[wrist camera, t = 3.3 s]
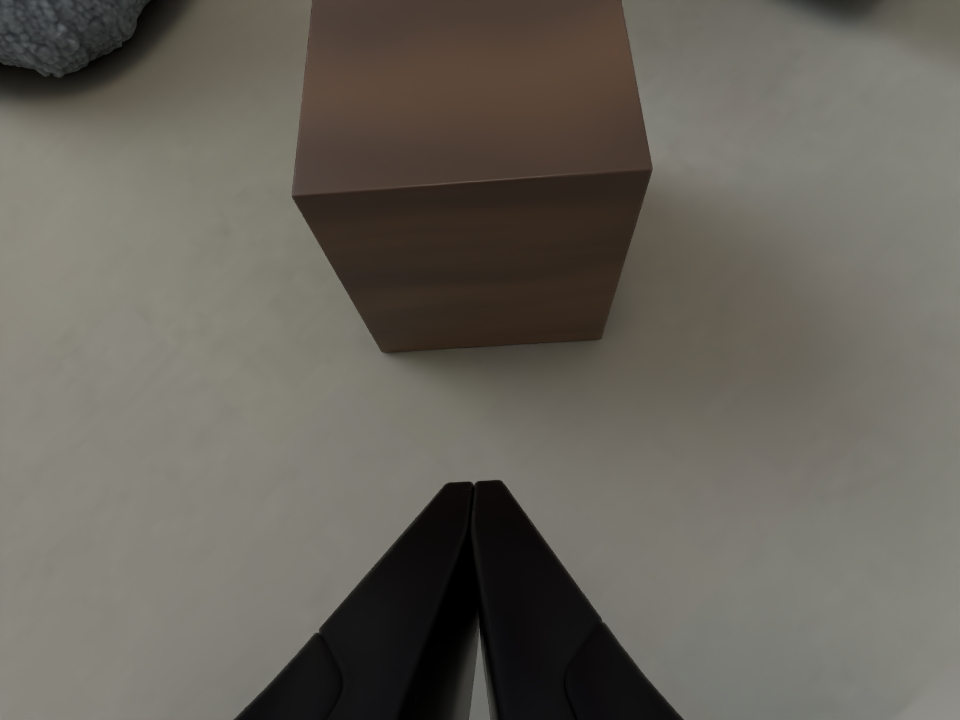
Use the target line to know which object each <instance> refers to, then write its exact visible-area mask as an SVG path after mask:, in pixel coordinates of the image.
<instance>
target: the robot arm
mask: <svg viewBox="0 0 960 720" xmlns="http://www.w3.org/2000/svg"><path fill="white" fill-rule="evenodd" d="M479 629H480V639H481V649H482V657H483V665H484V672H485V680H486V688H487V696H488V703H489V711H490V719H491V720H684V719H683V718H682V717H681V716H680V715H679V714H678V713H677V712H676V711H675V710H674V708H673V707H672V706H671V705H670V704H669V703H668V702H667V700H666V699H665V698H664V697H663V696H662V695H661V694H660V693H659V691H658V690H657V689H656V688H655V687H654V686H653V685H652V684H651V682H650V681H649V680H648V679H647V678H646V677H645V675H644V674H643V673H642V672H641V670H640V669H639V668H638V666H637V665H636V664H635V663H634V661H633V660H632V659H631V657H630V656H629V655H628V654H627V652H626V651H625V650H624V648H623V647H622V646H621V645H620V643H619V642H618V640H617V639H616V638H615V636H614V635H613V633H612V632H611V631H610V629H609V628H608V626H607V625H606V624H605V623H603V622H602V619H601V617H600V616H599V614H598V613H597V612H596V610H595V609H594V608H593V606H592V605H591V603H590V602H589V601H588V599H587V598H586V596H585V595H584V594H583V592H582V591H581V590H580V588H579V587H578V585H577V584H576V583H575V581H574V580H573V578H572V577H571V576H570V574H569V573H568V572H567V570H566V569H565V567H564V566H563V565H562V563H561V562H560V560H559V559H558V558H557V556H556V555H555V554H554V552H553V551H552V549H551V548H550V547H549V545H548V544H547V542H546V541H545V540H544V538H543V537H542V536H541V534H540V533H539V531H538V530H537V529H536V527H535V526H534V524H533V523H532V522H531V520H530V519H529V518H528V516H527V515H526V513H525V512H524V511H523V509H522V508H521V506H520V505H519V504H518V502H517V501H516V500H515V498H514V497H513V495H512V494H511V493H510V491H509V490H508V488H507V487H506V486H505V484H504V483H503V482H502V481H500V480H490V481H478V482H476V483H475V485H474V484H473V483H472V482H450V483H447V484H445V485H444V486H443V488H442V489H441V490H440V491H439V492H438V493H437V494H436V496H435V497H434V498H433V499H432V500H431V501H430V502H429V504H428V505H427V506H426V507H425V508H424V509H423V510H422V512H421V513H420V514H419V515H418V516H417V517H416V518H415V520H414V521H413V522H412V523H411V524H410V525H409V526H408V528H407V529H406V530H405V531H404V532H403V533H402V535H401V536H400V537H399V538H398V539H397V540H396V541H395V543H394V544H393V545H392V546H391V547H390V548H389V549H388V551H387V552H386V553H385V554H384V555H383V556H382V557H381V559H380V560H379V561H378V562H377V563H376V564H375V565H374V567H373V568H372V569H371V570H370V571H369V572H368V574H367V575H366V576H365V577H364V578H363V579H362V580H361V582H360V583H359V584H358V585H357V586H356V587H355V588H354V590H353V591H352V592H351V593H350V594H349V595H348V596H347V598H346V599H345V600H344V601H343V602H342V603H341V604H340V606H339V607H338V608H337V609H336V610H335V611H334V612H333V614H332V615H331V616H330V617H329V618H328V619H327V621H326V622H325V623H324V624H323V625H322V626H321V627H320V629H319V633H315V634H314V635H313V636H312V637H311V639H310V640H309V641H308V642H307V643H306V644H305V645H304V647H303V648H302V649H301V650H300V651H299V652H298V653H297V655H296V656H295V657H294V658H293V659H292V660H291V661H290V662H289V663H288V664H287V665H286V666H285V668H284V669H283V670H282V671H281V672H280V673H279V674H278V675H277V676H276V677H275V678H274V680H273V681H272V682H271V683H270V684H269V685H268V686H267V687H266V688H265V689H264V690H263V691H262V692H261V693H260V694H259V695H258V696H257V697H256V698H255V699H254V700H253V701H252V702H251V703H250V704H249V705H248V706H247V707H246V708H245V709H244V710H243V711H242V712H241V713H240V714H239V715H238V716H237V717H236V718H235V719H234V720H469V714H470V706H471V698H472V690H473V681H474V673H475V665H476V657H477V647H478V637H479Z"/></svg>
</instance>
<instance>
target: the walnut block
mask: <svg viewBox="0 0 960 720" xmlns="http://www.w3.org/2000/svg"><path fill="white" fill-rule="evenodd" d="M652 170H653V168H652V163H651V157H650V152H649V147H648V141H647V136H646V130H645V125H644V120H643V114H642V109H641V104H640V98H639V93H638V88H637V82H636V77H635V71H634V66H633V61H632V55H631V50H630V45H629V39H628V34H627V29H626V23H625V18H624V13H623V7H622V2H621V0H312V10H311V19H310V29H309V38H308V47H307V57H306V66H305V76H304V85H303V95H302V104H301V113H300V123H299V132H298V142H297V151H296V161H295V170H294V179H293V189H292V198H293V200H294V201H295V203H296V205H297V206H298V208H299V210H300V212H301V213H302V215H303V217H304V219H305V220H306V222H307V224H308V225H309V227H310V229H311V231H312V232H313V234H314V236H315V238H316V239H317V241H318V243H319V245H320V246H321V248H322V250H323V251H324V253H325V255H326V257H327V258H328V260H329V262H330V264H331V265H332V267H333V269H334V270H335V272H336V274H337V276H338V277H339V279H340V281H341V283H342V284H343V286H344V288H345V290H346V291H347V293H348V295H349V296H350V298H351V300H352V302H353V303H354V305H355V307H356V309H357V310H358V312H359V314H360V315H361V317H362V319H363V321H364V322H365V324H366V326H367V328H368V329H369V331H370V333H371V335H372V336H373V338H374V340H375V341H376V343H377V345H378V347H379V348H380V350H381V352H396V351H412V350H429V349H445V348H462V347H478V346H495V345H511V344H528V343H544V342H561V341H577V340H594V339H601V337H602V334H603V331H604V327H605V324H606V321H607V318H608V314H609V311H610V308H611V304H612V301H613V298H614V295H615V291H616V288H617V285H618V281H619V278H620V275H621V272H622V268H623V265H624V262H625V258H626V255H627V252H628V249H629V245H630V242H631V239H632V235H633V232H634V229H635V226H636V222H637V219H638V216H639V213H640V209H641V206H642V203H643V199H644V196H645V193H646V190H647V186H648V183H649V180H650V176H651V173H652Z"/></svg>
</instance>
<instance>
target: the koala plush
mask: <svg viewBox="0 0 960 720" xmlns="http://www.w3.org/2000/svg"><path fill="white" fill-rule="evenodd" d="M149 1H150V0H0V62H1V63H3V64H4V65H7V64H8V65H10V66H11V65H16V66H17V67H25V68H31V69H35V70H36V71H38V72H39V73H41V74H42V75H43V76H49V75H50V74H51V73H53V75H54V76H55V77H62V76H64V74H66V73H72V72H76V71H78V70H79V69H81V68H82V67H84V66H87V65H88V63H89V61H90V60H95V59H96V58H99V57H101V56H102V55H107V54H109V53H111V52H112V51H113V50H114V49H115V48H119V47H122V42H124V41H126V40H128V39H130V38H131V37H132V36H133V33H134V31H135V28H136V26H137V18H138V16H139V15H140V14H141V12H142V9H143V8H144V6H145V5H146V4H147V3H148V2H149Z"/></svg>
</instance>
